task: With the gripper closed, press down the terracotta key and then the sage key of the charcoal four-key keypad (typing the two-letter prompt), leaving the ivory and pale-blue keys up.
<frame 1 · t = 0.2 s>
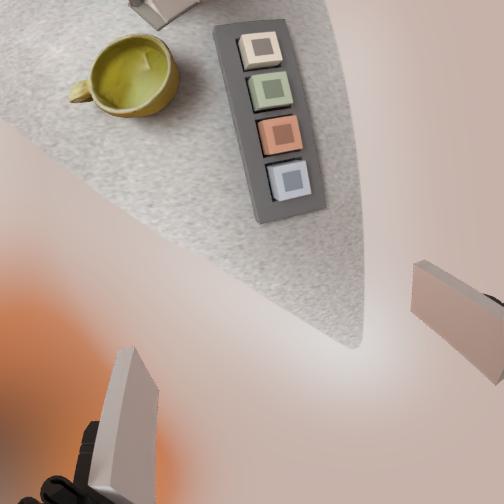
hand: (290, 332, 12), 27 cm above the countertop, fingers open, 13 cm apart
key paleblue: (288, 179, 34), point 3 cm above the countertop, slide at 0.0 cm
key sage: (269, 91, 30), point 3 cm above the countertop, slide at 0.0 cm
keyguard frame: (268, 116, 34), on the countertop
skyscraper: (170, 2, 26), on the countertop
mug: (131, 89, 30), on the countertop
key ivory: (259, 50, 28), point 3 cm above the countertop, slide at 0.0 cm
key terracotta: (279, 135, 32), point 3 cm above the countertop, slide at 0.0 cm
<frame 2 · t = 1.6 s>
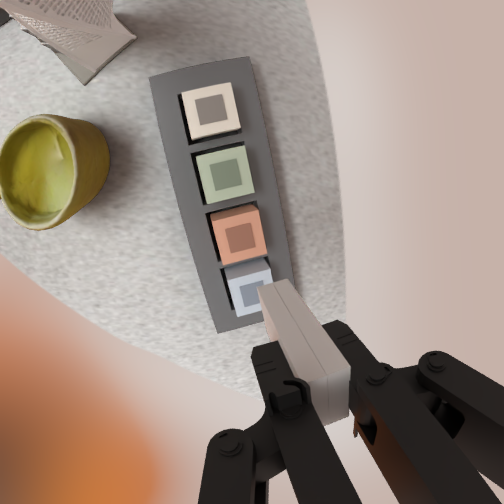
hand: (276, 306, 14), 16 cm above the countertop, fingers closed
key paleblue: (250, 286, 28), point 3 cm above the countertop, slide at 0.0 cm
key sage: (224, 173, 24), point 3 cm above the countertop, slide at 0.0 cm
keyguard frame: (227, 198, 28), on the countertop
skyscraper: (101, 41, 20), on the countertop
mug: (59, 168, 24), on the countertop
key ivory: (210, 112, 22), point 3 cm above the countertop, slide at 0.0 cm
key terracotta: (237, 233, 26), point 3 cm above the countertop, slide at 0.0 cm
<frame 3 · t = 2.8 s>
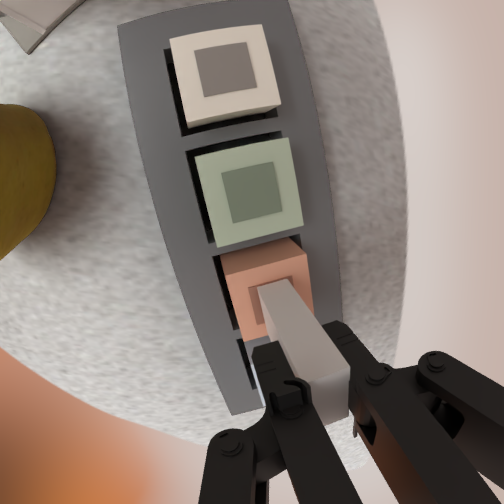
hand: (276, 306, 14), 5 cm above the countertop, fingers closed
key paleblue: (283, 363, 17), point 3 cm above the countertop, slide at 0.0 cm
key sage: (246, 188, 13), point 3 cm above the countertop, slide at 0.0 cm
keyguard frame: (247, 226, 17), on the countertop
key ivory: (221, 76, 11), point 3 cm above the countertop, slide at 0.0 cm
key terracotta: (266, 287, 16), point 3 cm above the countertop, slide at 0.3 cm, touching gripper
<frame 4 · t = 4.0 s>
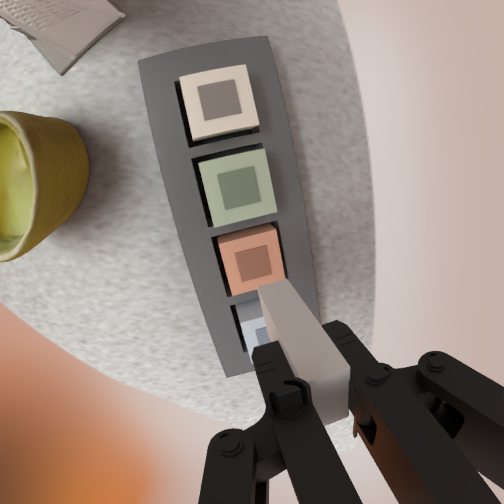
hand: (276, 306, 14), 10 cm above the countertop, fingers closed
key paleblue: (267, 326, 22), point 3 cm above the countertop, slide at 0.0 cm
key sage: (235, 185, 18), point 3 cm above the countertop, slide at 0.0 cm
keyguard frame: (238, 216, 22), on the countertop
skyscraper: (83, 23, 15), on the countertop
mug: (32, 178, 18), on the countertop
key ivory: (217, 103, 17), point 3 cm above the countertop, slide at 0.0 cm
key terracotta: (250, 256, 22), point 2 cm above the countertop, slide at 1.4 cm
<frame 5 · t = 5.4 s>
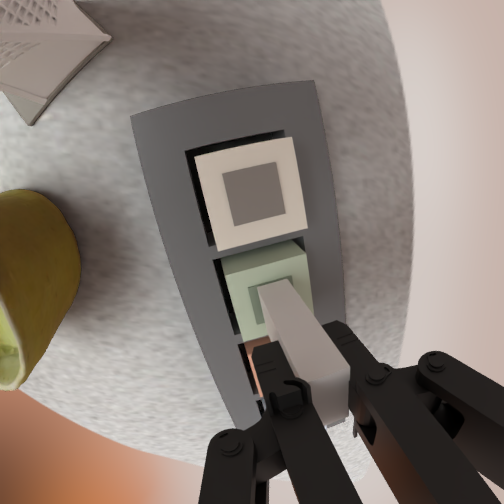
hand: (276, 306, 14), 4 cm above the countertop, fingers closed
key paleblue: (294, 415, 19), point 3 cm above the countertop, slide at 0.0 cm
key sage: (266, 287, 16), point 2 cm above the countertop, slide at 0.8 cm, touching gripper
keyguard frame: (265, 307, 19), on the countertop
skyscraper: (56, 48, 11), on the countertop
mug: (13, 257, 15), on the countertop
key ivory: (248, 189, 13), point 3 cm above the countertop, slide at 0.0 cm
key terracotta: (279, 354, 18), point 2 cm above the countertop, slide at 1.4 cm
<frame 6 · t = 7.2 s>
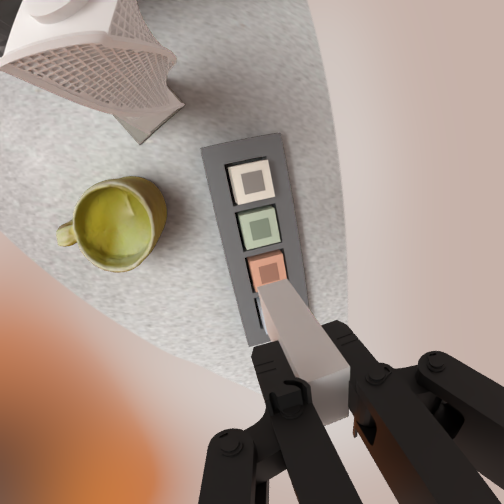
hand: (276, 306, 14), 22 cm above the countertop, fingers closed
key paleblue: (276, 311, 37), point 3 cm above the countertop, slide at 0.0 cm
key sage: (258, 226, 34), point 2 cm above the countertop, slide at 1.4 cm
keyguard frame: (259, 244, 37), on the countertop
skyscraper: (151, 104, 29), on the countertop
mug: (119, 214, 33), on the countertop
key ivory: (250, 181, 31), point 3 cm above the countertop, slide at 0.0 cm
key terracotta: (266, 269, 36), point 2 cm above the countertop, slide at 1.4 cm
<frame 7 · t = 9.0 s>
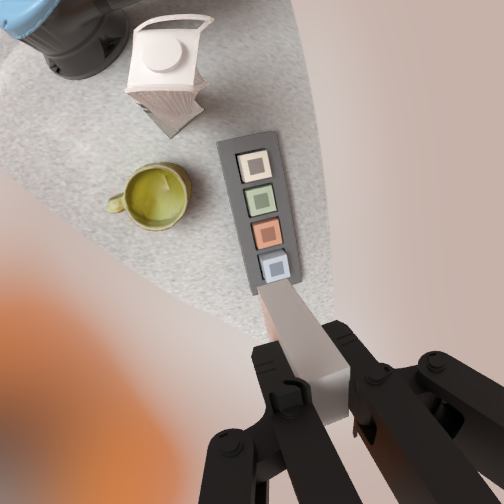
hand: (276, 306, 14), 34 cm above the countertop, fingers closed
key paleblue: (274, 265, 48), point 3 cm above the countertop, slide at 0.0 cm
key sage: (259, 199, 45), point 2 cm above the countertop, slide at 1.4 cm
keyguard frame: (260, 213, 48), on the countertop
skyscraper: (178, 108, 40), on the countertop
mug: (153, 191, 44), on the countertop
key ivory: (254, 165, 42), point 3 cm above the countertop, slide at 0.0 cm
key terracotta: (266, 232, 47), point 2 cm above the countertop, slide at 1.4 cm
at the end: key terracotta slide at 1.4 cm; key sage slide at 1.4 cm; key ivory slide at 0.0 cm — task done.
